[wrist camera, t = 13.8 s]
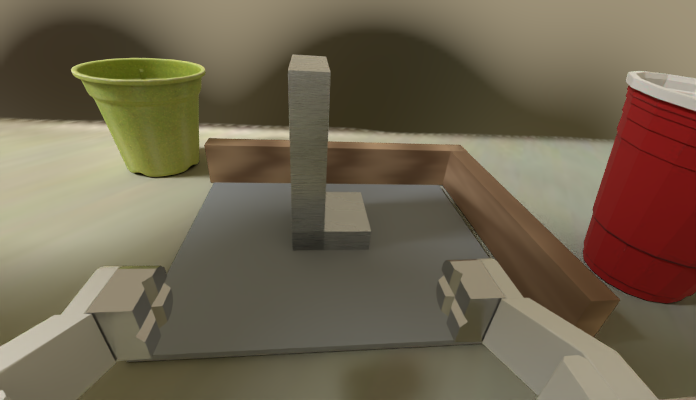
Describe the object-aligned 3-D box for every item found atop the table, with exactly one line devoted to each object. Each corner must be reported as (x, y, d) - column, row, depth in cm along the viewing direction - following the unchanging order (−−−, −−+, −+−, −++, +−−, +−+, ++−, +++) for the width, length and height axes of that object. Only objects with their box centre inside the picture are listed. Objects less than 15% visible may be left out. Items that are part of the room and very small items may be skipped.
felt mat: (126, 361, 15) (124, 356, 14) (214, 186, 28) (213, 182, 28) (540, 340, 17) (543, 335, 17) (437, 188, 31) (438, 185, 30)
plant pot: (206, 140, 37) (192, 56, 32) (229, 174, 30) (216, 76, 26) (106, 153, 32) (74, 58, 28) (108, 197, 26) (66, 82, 21)
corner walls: (108, 373, 14) (79, 319, 12) (215, 174, 30) (209, 138, 28) (587, 346, 17) (621, 299, 15) (451, 177, 33) (460, 144, 31)
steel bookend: (292, 250, 21) (287, 69, 15) (295, 208, 25) (292, 54, 20) (368, 249, 22) (391, 75, 16) (359, 208, 26) (374, 59, 20)
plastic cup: (762, 386, 16) (1065, 155, 9) (527, 272, 21) (617, 82, 15) (734, 273, 23) (894, 100, 17) (563, 210, 29) (635, 65, 22)
